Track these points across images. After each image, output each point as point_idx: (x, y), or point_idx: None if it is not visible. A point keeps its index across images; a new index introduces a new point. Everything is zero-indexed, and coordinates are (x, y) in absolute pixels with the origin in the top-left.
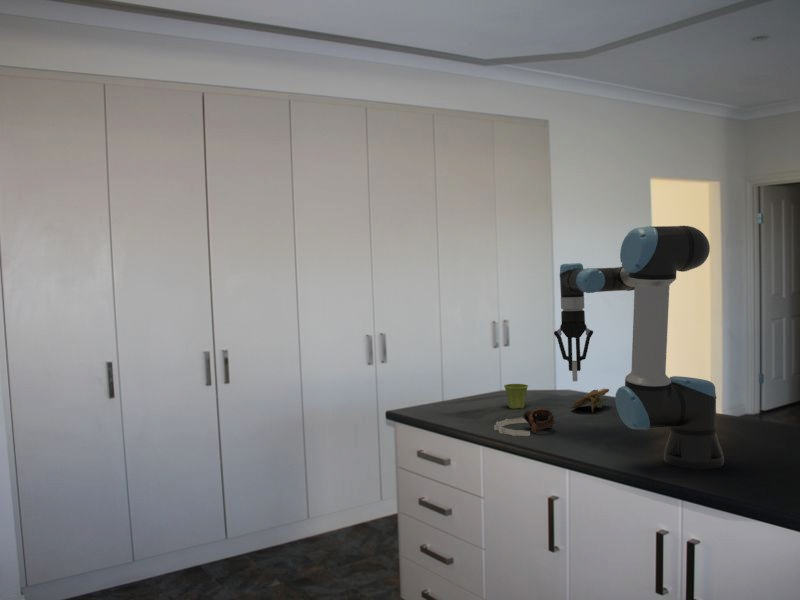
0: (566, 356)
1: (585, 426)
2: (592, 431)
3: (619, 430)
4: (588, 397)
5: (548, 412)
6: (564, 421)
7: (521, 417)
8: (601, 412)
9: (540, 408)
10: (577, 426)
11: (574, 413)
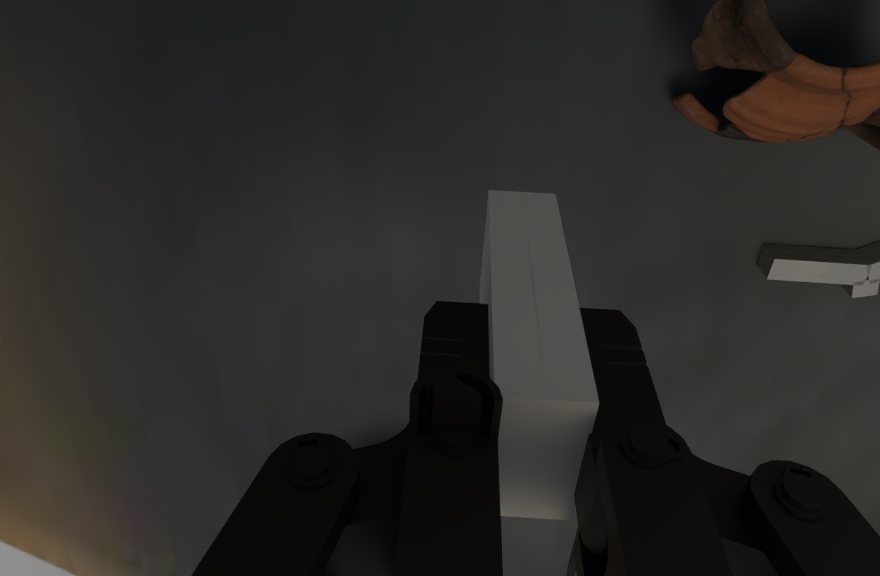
0: (751, 543)
1: (432, 179)
2: (384, 37)
3: (201, 82)
4: None
5: (774, 28)
6: None
7: (858, 296)
8: None
9: (852, 85)
10: (485, 176)
11: None
